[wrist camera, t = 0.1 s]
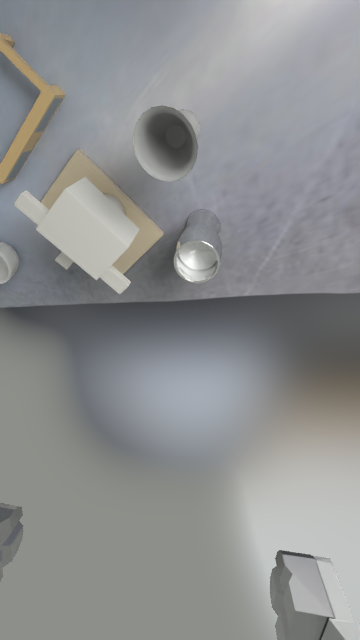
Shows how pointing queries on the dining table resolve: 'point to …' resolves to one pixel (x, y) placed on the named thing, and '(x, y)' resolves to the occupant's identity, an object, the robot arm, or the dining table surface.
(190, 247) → the beer glass
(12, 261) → the teacup
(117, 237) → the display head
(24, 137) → the tan open angular frame
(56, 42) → the dining table surface
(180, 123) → the chalice
